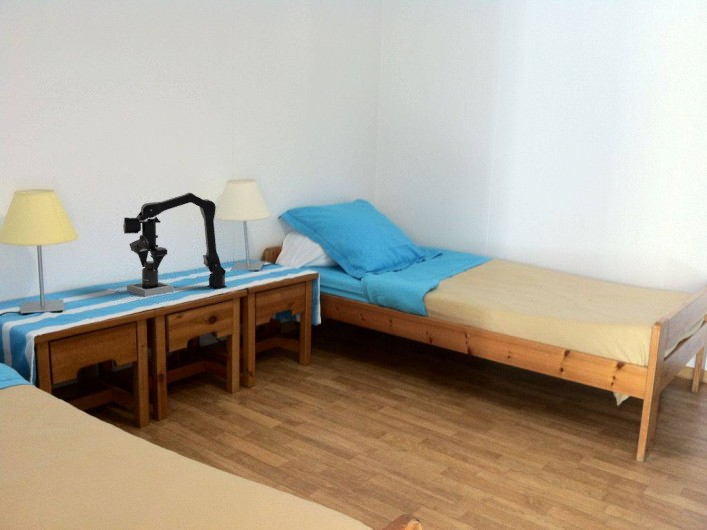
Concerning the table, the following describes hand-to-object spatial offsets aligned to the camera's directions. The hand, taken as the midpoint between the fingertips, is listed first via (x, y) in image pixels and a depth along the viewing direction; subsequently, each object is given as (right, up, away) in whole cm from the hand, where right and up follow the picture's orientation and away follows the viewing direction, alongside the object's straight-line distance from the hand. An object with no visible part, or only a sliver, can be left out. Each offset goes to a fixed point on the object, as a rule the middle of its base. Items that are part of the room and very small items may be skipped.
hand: (149, 268), depth 297 cm
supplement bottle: (0, -9, +2) cm, 9 cm away
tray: (0, -10, +2) cm, 10 cm away
